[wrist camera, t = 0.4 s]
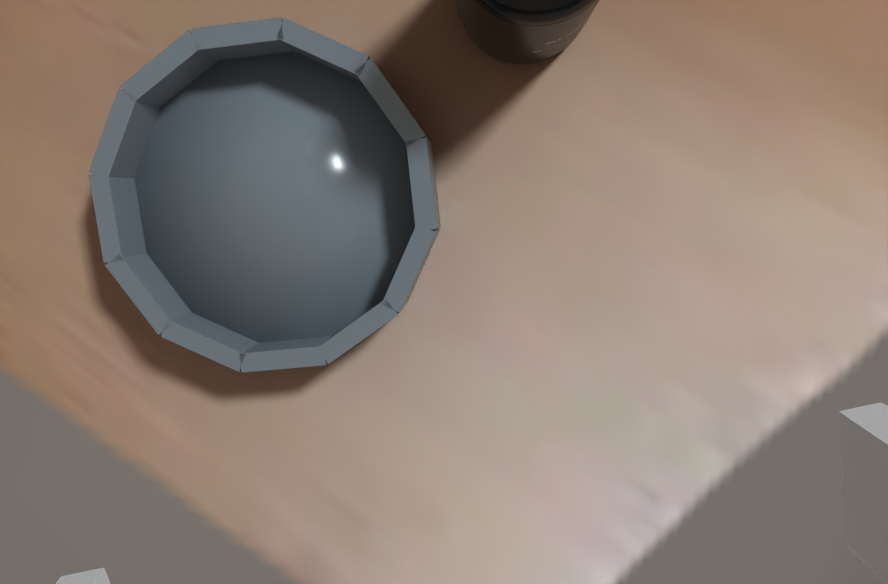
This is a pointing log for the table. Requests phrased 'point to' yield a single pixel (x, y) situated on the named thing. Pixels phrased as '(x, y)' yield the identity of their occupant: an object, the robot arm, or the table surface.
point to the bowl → (264, 195)
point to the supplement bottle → (524, 26)
